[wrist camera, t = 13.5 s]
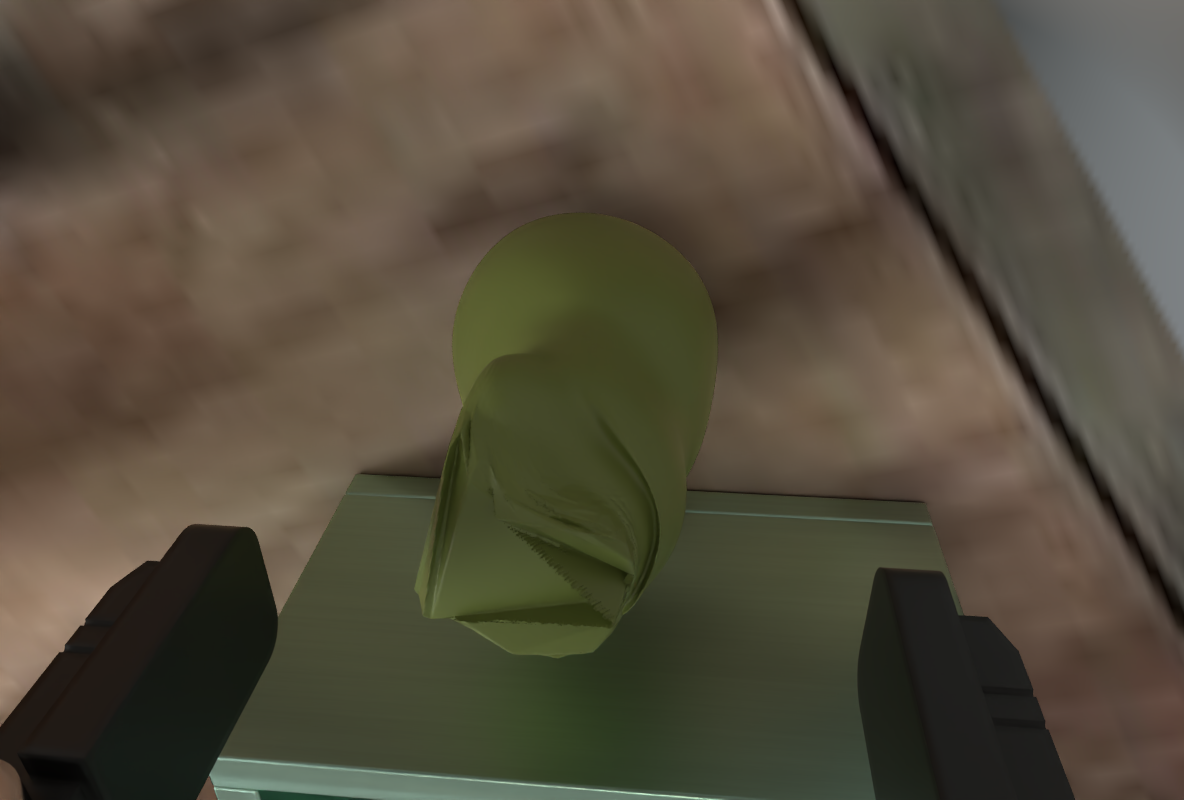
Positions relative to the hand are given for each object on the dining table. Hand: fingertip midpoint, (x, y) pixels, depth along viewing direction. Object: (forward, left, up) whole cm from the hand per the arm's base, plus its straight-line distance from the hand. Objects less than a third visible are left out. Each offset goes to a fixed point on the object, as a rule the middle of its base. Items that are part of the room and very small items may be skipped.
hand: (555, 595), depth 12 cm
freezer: (0, -13, -10) cm, 16 cm away
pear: (-1, 0, -11) cm, 11 cm away
